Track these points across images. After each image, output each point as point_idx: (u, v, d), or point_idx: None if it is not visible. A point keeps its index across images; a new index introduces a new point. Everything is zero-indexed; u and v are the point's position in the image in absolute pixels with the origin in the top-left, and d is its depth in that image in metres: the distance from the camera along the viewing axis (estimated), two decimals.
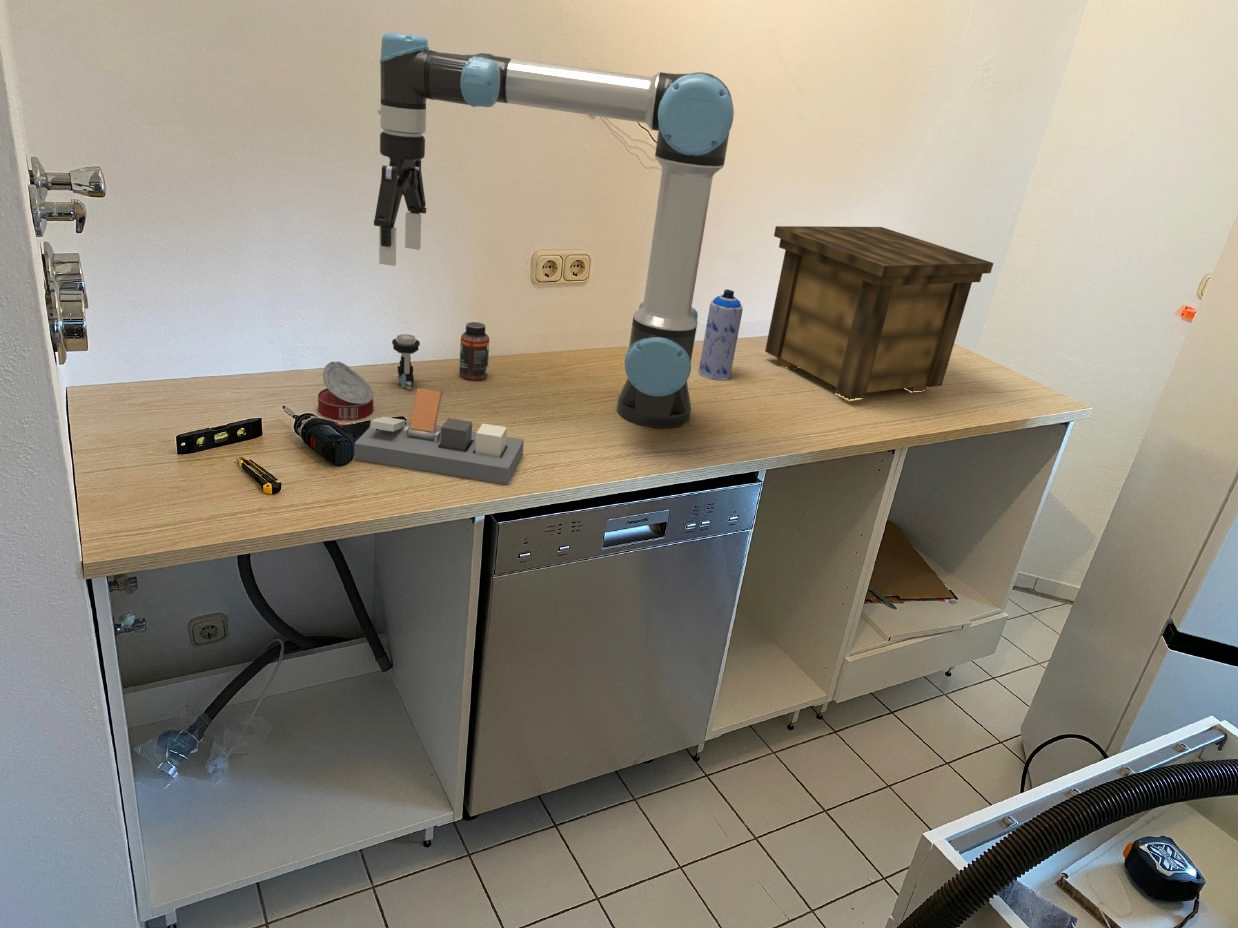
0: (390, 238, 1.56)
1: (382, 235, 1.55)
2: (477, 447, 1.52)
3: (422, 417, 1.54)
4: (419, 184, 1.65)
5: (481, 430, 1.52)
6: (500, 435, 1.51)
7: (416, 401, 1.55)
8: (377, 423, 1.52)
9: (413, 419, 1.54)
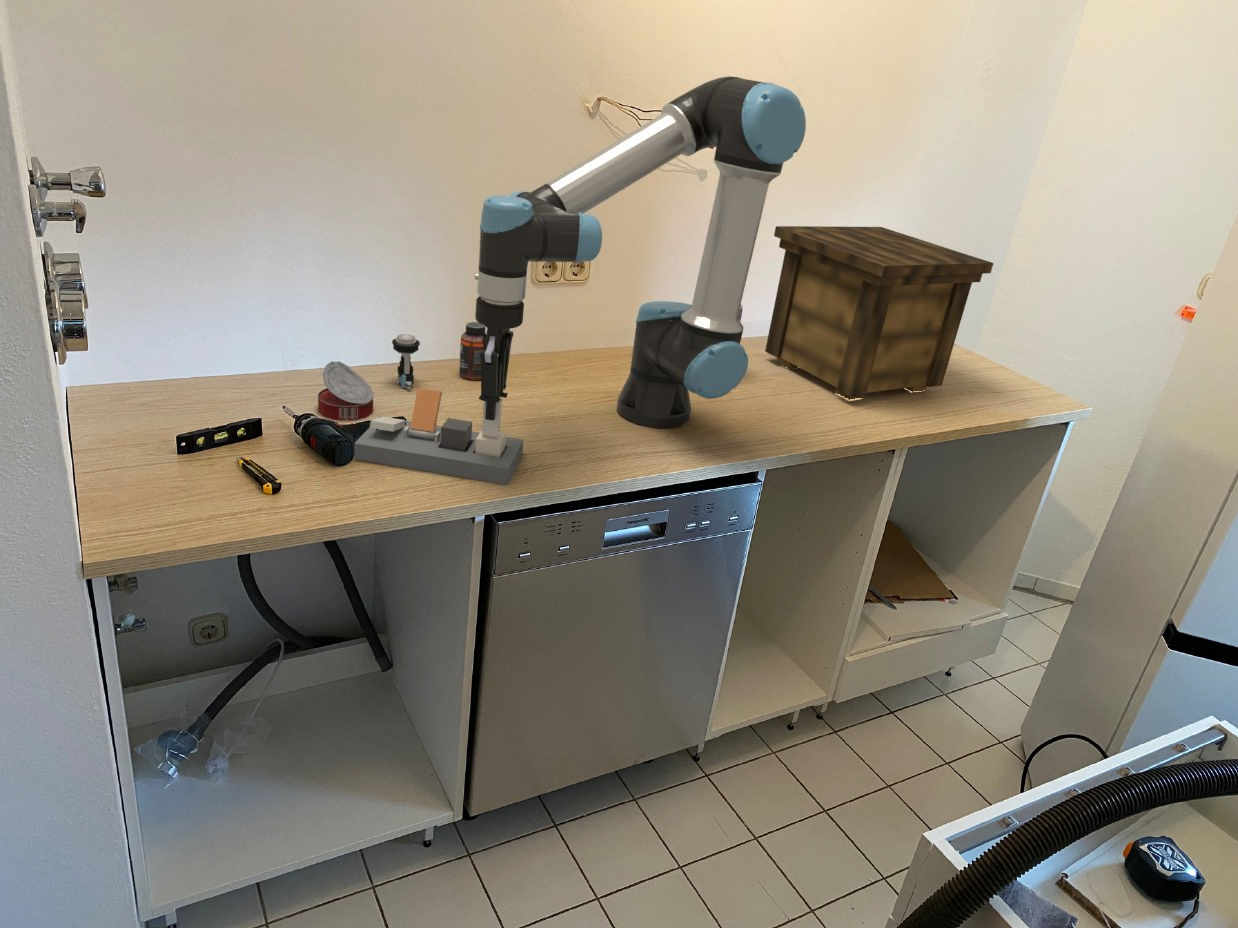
0: (495, 411, 1.50)
1: (487, 409, 1.49)
2: (477, 453, 1.53)
3: (422, 417, 1.54)
4: (506, 358, 1.51)
5: (481, 436, 1.53)
6: (500, 441, 1.52)
7: (416, 401, 1.55)
8: (377, 423, 1.52)
9: (413, 419, 1.54)
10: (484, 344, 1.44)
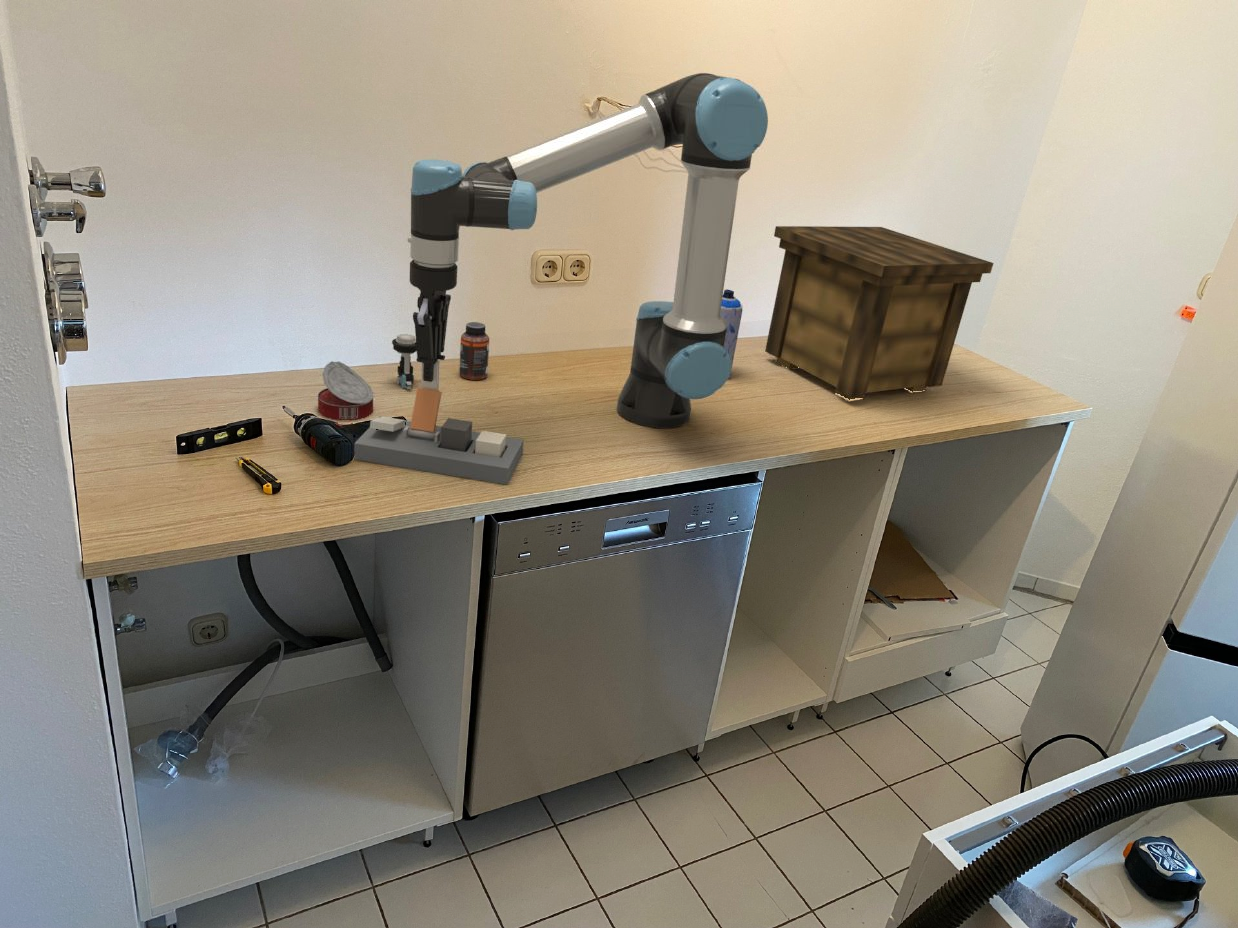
0: (433, 373, 1.54)
1: (425, 370, 1.53)
2: None
3: (422, 417, 1.54)
4: (444, 321, 1.54)
5: (480, 437, 1.53)
6: (499, 442, 1.52)
7: (416, 401, 1.54)
8: (377, 423, 1.52)
9: (413, 419, 1.54)
10: (419, 307, 1.48)
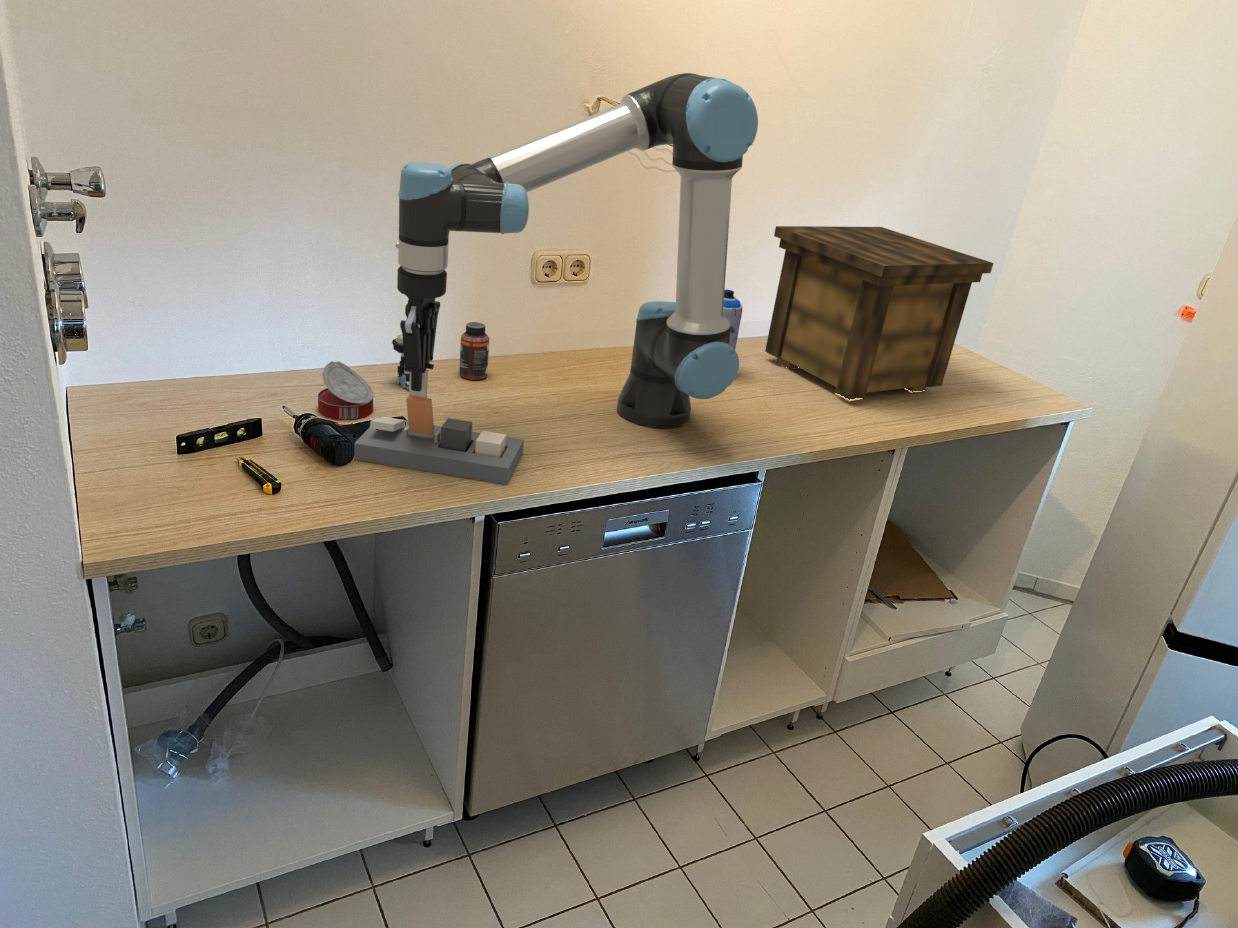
0: (421, 382, 1.49)
1: (412, 380, 1.48)
2: None
3: (418, 423, 1.52)
4: (432, 329, 1.49)
5: (480, 437, 1.53)
6: (499, 442, 1.52)
7: (408, 410, 1.51)
8: (377, 423, 1.52)
9: (410, 424, 1.53)
10: (407, 314, 1.43)
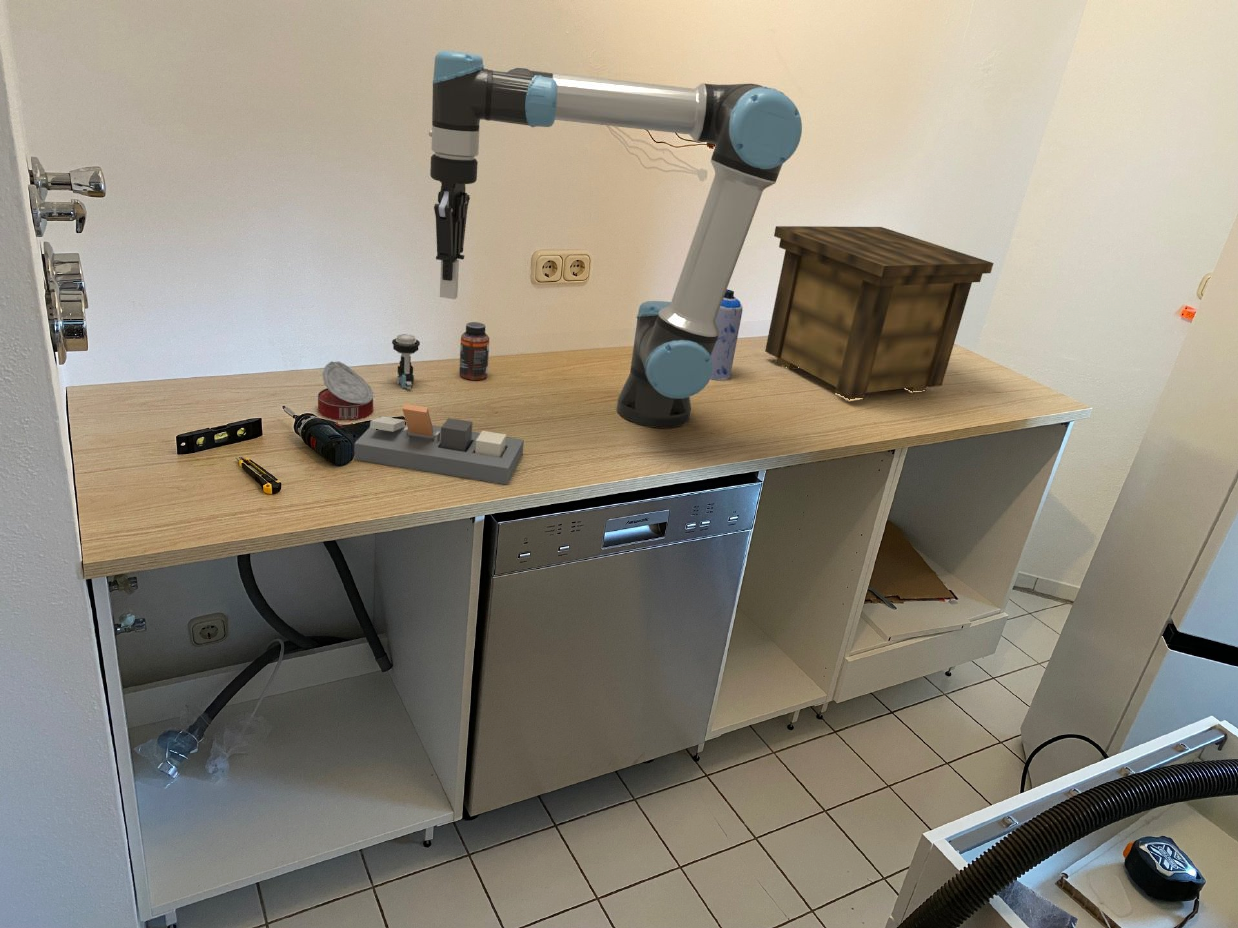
0: (452, 272, 1.55)
1: (444, 269, 1.54)
2: None
3: (417, 427, 1.52)
4: (463, 220, 1.55)
5: (480, 437, 1.53)
6: (499, 442, 1.52)
7: (405, 417, 1.50)
8: (377, 423, 1.52)
9: (409, 427, 1.53)
10: (439, 201, 1.49)
